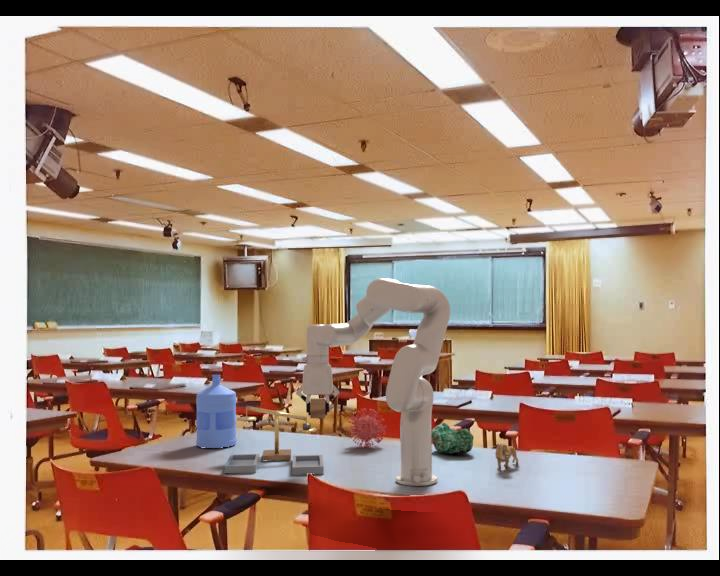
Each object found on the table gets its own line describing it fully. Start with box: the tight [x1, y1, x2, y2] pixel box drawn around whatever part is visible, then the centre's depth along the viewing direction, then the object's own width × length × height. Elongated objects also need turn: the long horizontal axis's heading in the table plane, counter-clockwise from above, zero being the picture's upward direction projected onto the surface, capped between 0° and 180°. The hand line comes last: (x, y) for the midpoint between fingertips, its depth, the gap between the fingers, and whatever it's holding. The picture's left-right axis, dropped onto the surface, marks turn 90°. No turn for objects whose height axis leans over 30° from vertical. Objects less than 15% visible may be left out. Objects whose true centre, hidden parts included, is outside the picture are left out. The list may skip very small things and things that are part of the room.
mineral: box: [431, 422, 474, 455], centre depth 244 cm, size 18×16×10 cm
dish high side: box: [224, 453, 260, 474], centre depth 225 cm, size 18×10×2 cm, turn 5°
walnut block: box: [309, 397, 326, 419], centre depth 224 cm, size 5×5×6 cm
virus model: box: [347, 407, 387, 448], centre depth 257 cm, size 15×15×15 cm
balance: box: [236, 405, 317, 461], centre depth 239 cm, size 10×28×19 cm, turn 95°
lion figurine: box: [495, 443, 519, 472], centre depth 218 cm, size 15×5×9 cm, turn 153°
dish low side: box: [291, 454, 325, 476], centre depth 222 cm, size 18×10×2 cm, turn 5°
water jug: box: [195, 374, 237, 448], centre depth 264 cm, size 16×16×28 cm
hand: (317, 414), depth 224 cm, fingers closed on walnut block, 5 cm apart
